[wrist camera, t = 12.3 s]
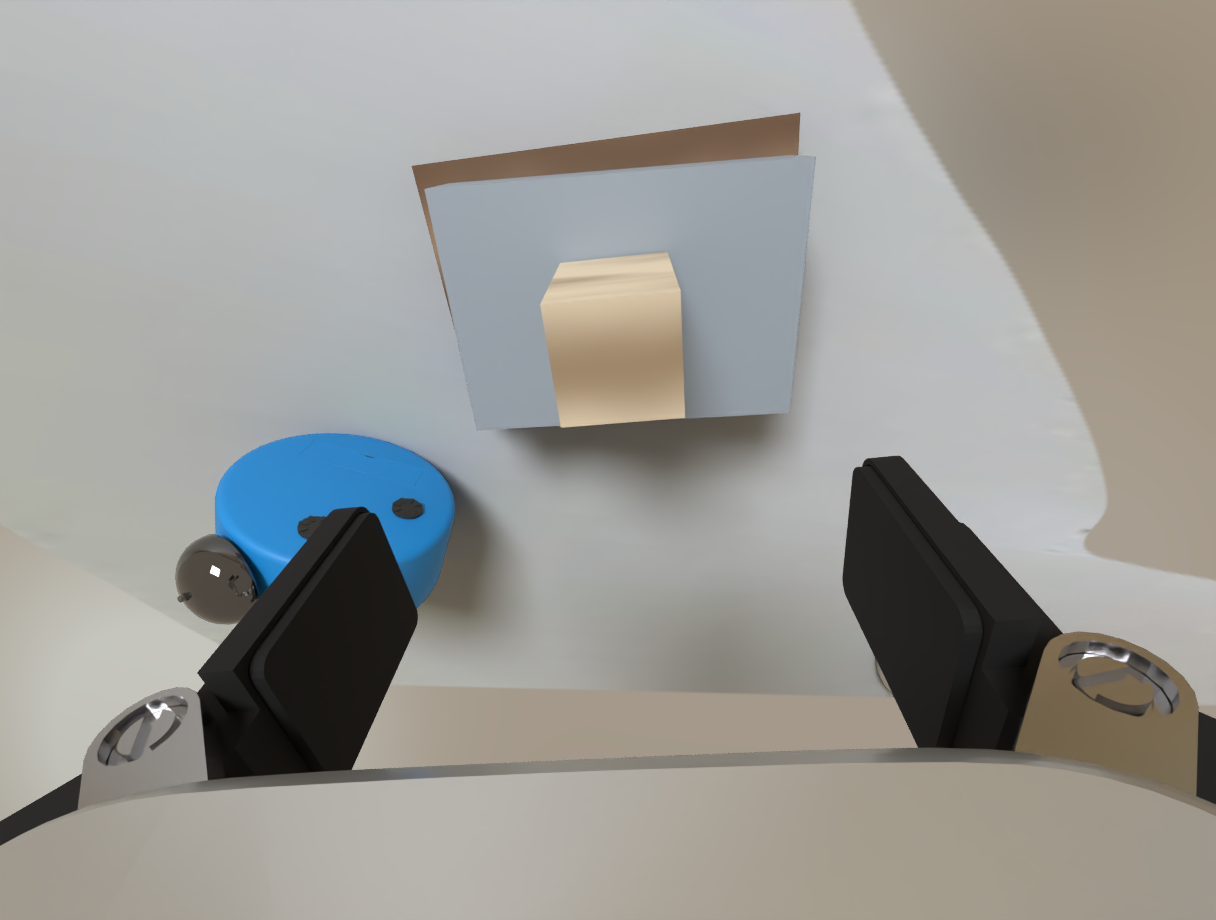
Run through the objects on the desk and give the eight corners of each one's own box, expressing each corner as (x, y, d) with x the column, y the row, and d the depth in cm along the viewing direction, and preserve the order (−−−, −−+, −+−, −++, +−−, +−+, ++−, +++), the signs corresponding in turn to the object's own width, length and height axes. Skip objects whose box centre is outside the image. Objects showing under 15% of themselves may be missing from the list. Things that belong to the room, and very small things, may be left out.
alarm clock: (290, 477, 41) (135, 632, 28) (294, 406, 38) (123, 544, 25) (461, 526, 43) (390, 693, 30) (478, 463, 40) (408, 618, 27)
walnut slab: (770, 363, 36) (786, 387, 33) (491, 392, 38) (477, 417, 34) (779, 115, 29) (800, 112, 26) (435, 163, 31) (411, 166, 27)
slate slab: (771, 384, 33) (789, 413, 29) (491, 400, 34) (476, 430, 30) (790, 155, 27) (815, 156, 23) (449, 183, 28) (424, 189, 24)
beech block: (672, 354, 28) (685, 417, 22) (574, 363, 28) (560, 427, 22) (667, 251, 25) (680, 290, 19) (560, 262, 25) (540, 304, 20)
